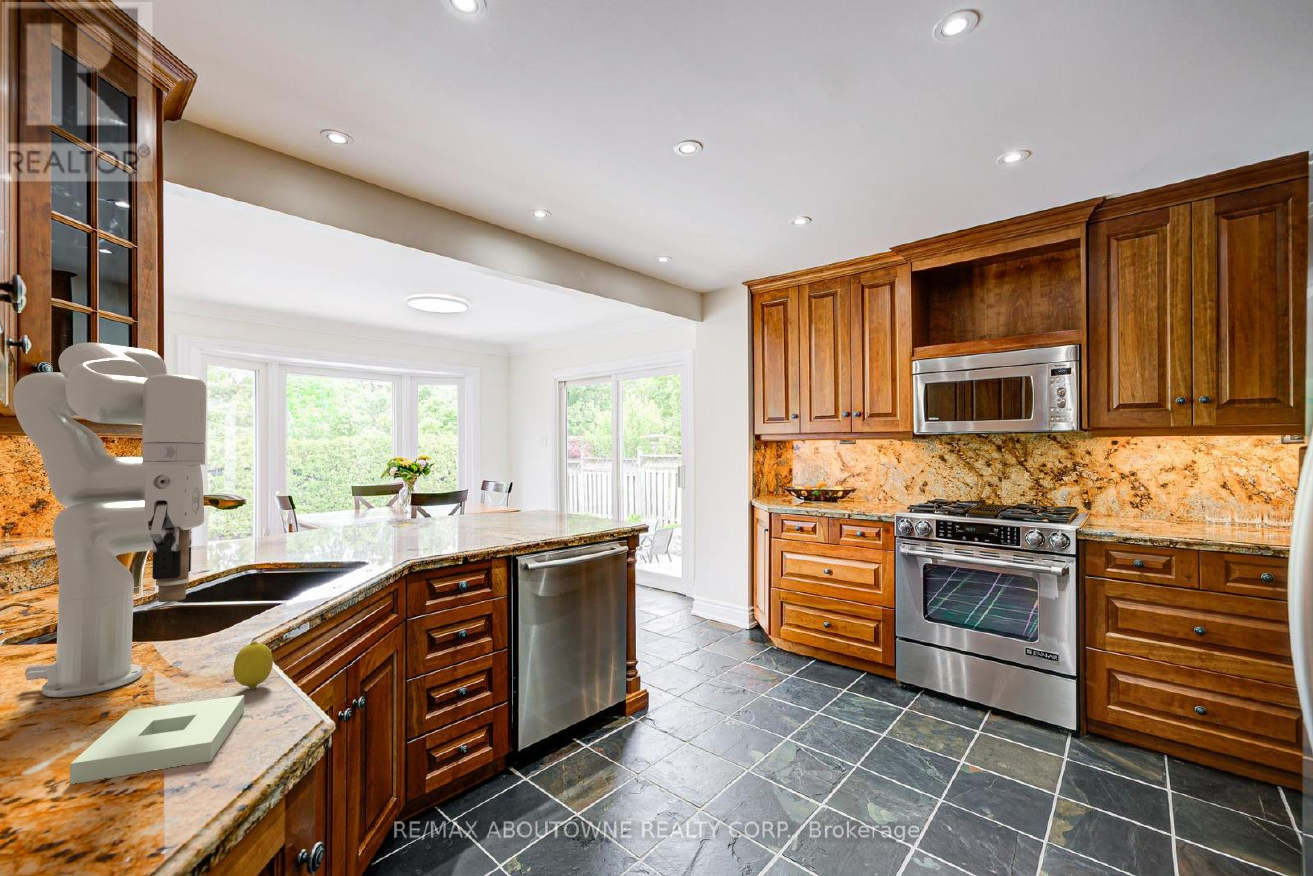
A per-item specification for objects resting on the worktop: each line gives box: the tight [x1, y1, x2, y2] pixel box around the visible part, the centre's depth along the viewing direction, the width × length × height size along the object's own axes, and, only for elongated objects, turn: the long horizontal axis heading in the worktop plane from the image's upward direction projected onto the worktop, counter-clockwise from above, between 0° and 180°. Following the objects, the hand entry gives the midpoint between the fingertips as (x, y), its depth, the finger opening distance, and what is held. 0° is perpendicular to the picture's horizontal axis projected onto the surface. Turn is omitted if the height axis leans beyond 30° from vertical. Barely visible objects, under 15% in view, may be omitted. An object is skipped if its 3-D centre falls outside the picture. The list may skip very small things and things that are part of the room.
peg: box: [155, 527, 190, 603], centre depth 88 cm, size 4×4×11 cm
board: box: [69, 694, 245, 785], centre depth 80 cm, size 14×16×2 cm
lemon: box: [233, 640, 274, 690], centre depth 99 cm, size 6×6×8 cm
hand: (172, 574), depth 88 cm, fingers closed on peg, 3 cm apart
